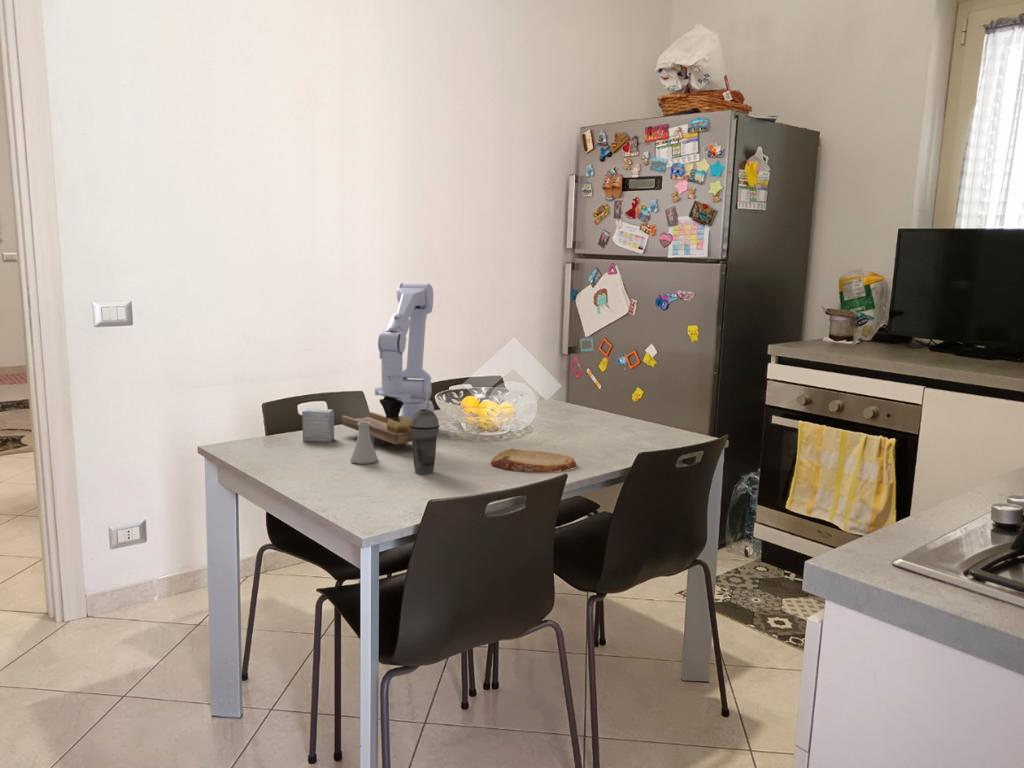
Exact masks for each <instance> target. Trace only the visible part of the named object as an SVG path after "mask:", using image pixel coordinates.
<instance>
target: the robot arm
mask: <svg viewBox="0 0 1024 768" xmlns="http://www.w3.org/2000/svg"><path fill="white" fill-rule="evenodd" d="M396 298H397V303H398V306H397V311H396V313H394V314H393V315H391V316H390V319H389V322H388V324H387V326H386V328H385V331H383V332H382V333H380V334H379V336H378V341H377V348H378V352H379V359H380V360H381V364H380V365H381V369H380V370H381V387H376V388H374V395H375V396H381V397H383V398H381V399H379V403H380V404H381V407H382V408H383V411H384V414H385V417H386V418H389V417H396V416H400V412H401V416H405V417H407V418H410V419H411V418H412V416H413V415H414V413H416V412H417V411H419V410H421V409H426V406H427V399H428V391H430V397H431V395H432V377H431V375H430V373H428V372H427V371H426V370H424V369H423V367H424V366H423V363H424V353H425V351H424V349H425V338H426V336H425V335H426V334H425V333H426V323H427V322H426V321H427V316H428V314H430V313H432V312H433V308H434V307H433V305H434V289H433V286H432V284H431V283H404V282H400V283H399V284H398V286H397V288H396ZM407 334H408V341H407ZM406 342H408V343H407V357H406V358H407V359H406V368H405V369H403V367H404V366H403V363H404V362H403V361H404V359H403V357H404V356H403V354H404V352H405V349H406ZM428 410H430V411H432V412H433V413H434V414H435V407H434V404H433V402H432V401H431V400H429V408H428Z"/></svg>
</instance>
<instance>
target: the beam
mask: <svg viewBox="0 0 1024 768" xmlns="http://www.w3.org/2000/svg"><path fill="white" fill-rule="evenodd" d="M359 422H370V426H369V433H370V435H371V436H374V437H376V438H379V439H382V440H384V441H387V442H390V443H391V444H393V445H400V444H405V443H406V444H407V443H412V435H411V432H405V433H398V434H396V433H393V432H390V431H387V418H386V415H382V414H379V413H376V412H373V411H369V412H368V416H365V417H357V418H353V417H350V416H347V415H345V414H344V415H341V425H342V426H344V427H347V428H350V429H353V430H355V431H358V432H359V426H358V423H359ZM390 443H389V444H390Z"/></svg>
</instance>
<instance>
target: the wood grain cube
mask: <svg viewBox="0 0 1024 768" xmlns="http://www.w3.org/2000/svg"><path fill="white" fill-rule="evenodd" d="M410 420H411V419H410V418H407V417H405V416H402V415H399V416H396V417H389V418H387V431H390V432H393V433H396V434H398V433H405V432H410V427H409V425H410Z"/></svg>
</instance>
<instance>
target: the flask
mask: <svg viewBox="0 0 1024 768" xmlns="http://www.w3.org/2000/svg"><path fill="white" fill-rule="evenodd" d="M358 426H359V431H358V433H357V438H356V442H355V445H354V448H353V451H352V453H351V457H350V462H351V463H352V464H361V465H365V464H375V463H377V462H378V461H379V459H378V455H377V454H376V453H377V452H376V451H375V448H374V445H373V444H372V441H371V438H370V433H369V426H370V422H359V423H358Z"/></svg>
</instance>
